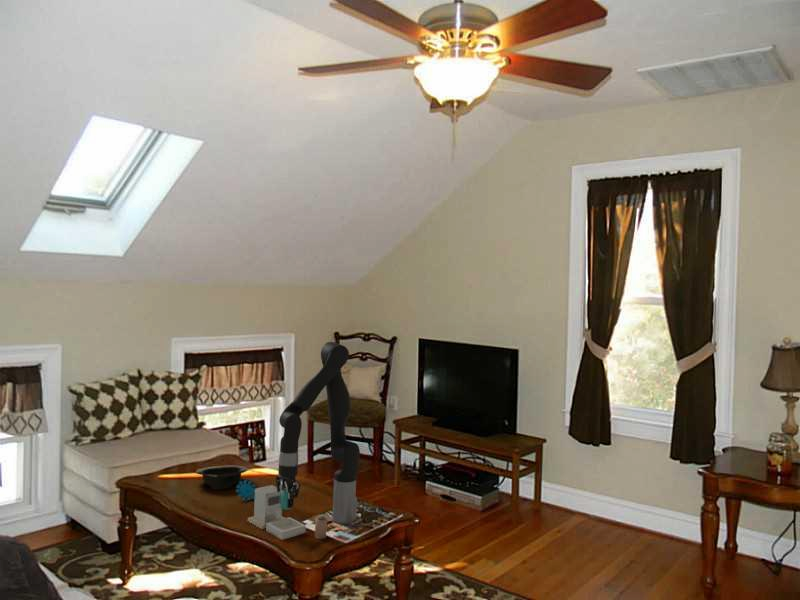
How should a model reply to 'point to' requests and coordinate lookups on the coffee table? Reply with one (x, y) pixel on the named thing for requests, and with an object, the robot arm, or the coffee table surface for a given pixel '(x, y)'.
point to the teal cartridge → (284, 499)
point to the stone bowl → (222, 476)
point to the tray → (285, 528)
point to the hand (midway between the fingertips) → (286, 505)
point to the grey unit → (266, 506)
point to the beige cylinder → (320, 527)
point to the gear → (246, 490)
